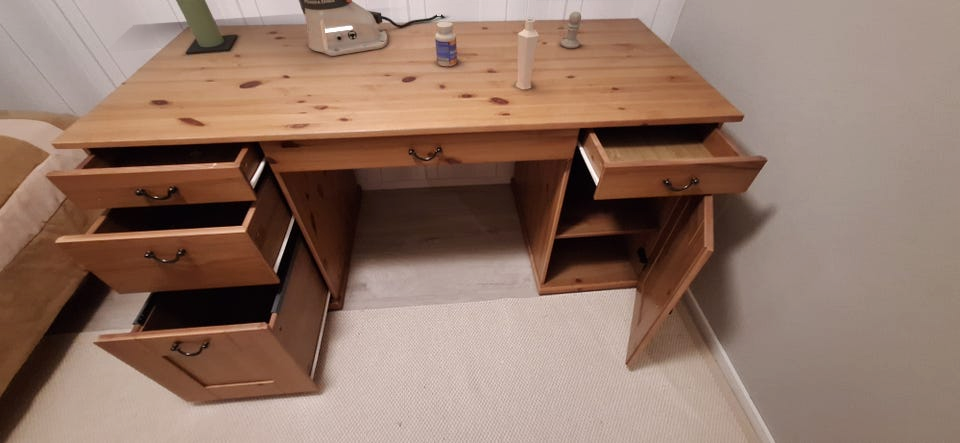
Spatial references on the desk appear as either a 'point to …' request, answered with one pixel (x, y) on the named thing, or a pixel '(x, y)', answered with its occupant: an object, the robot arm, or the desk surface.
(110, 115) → the desk surface
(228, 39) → the coaster
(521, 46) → the perfume bottle
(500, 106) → the desk surface
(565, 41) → the chess piece
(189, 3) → the bottle
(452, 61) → the pill bottle
